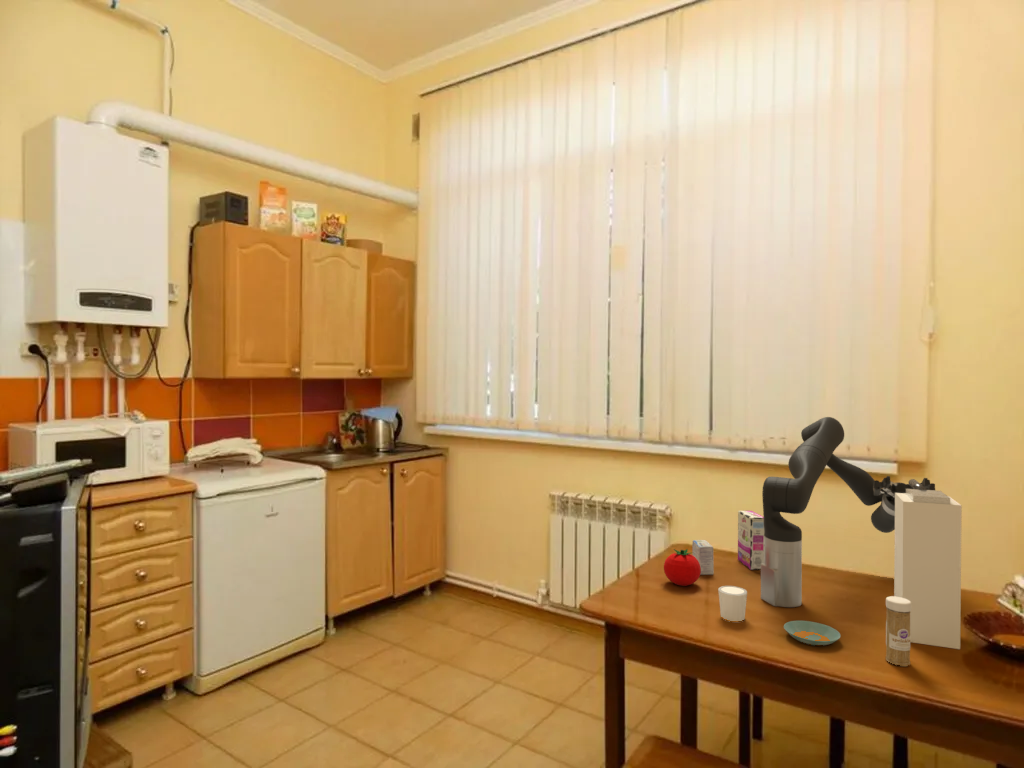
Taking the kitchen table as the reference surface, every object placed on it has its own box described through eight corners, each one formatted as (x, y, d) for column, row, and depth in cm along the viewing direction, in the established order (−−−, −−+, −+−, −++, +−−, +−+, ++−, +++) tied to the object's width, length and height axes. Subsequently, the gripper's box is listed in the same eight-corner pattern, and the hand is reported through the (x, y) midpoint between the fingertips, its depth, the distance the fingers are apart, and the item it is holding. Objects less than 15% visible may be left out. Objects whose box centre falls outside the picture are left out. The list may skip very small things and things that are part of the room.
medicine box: (713, 575, 188) (714, 546, 187) (699, 575, 188) (699, 546, 188) (706, 567, 195) (706, 539, 195) (692, 566, 196) (692, 539, 195)
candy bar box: (766, 570, 192) (766, 517, 191) (750, 570, 192) (750, 518, 191) (752, 559, 203) (752, 509, 202) (737, 559, 203) (737, 510, 202)
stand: (960, 649, 137) (961, 505, 136) (902, 640, 141) (903, 501, 141) (947, 630, 147) (949, 496, 146) (894, 622, 151) (894, 492, 151)
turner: (950, 504, 138) (950, 495, 137) (913, 501, 140) (913, 492, 140) (929, 487, 157) (929, 480, 157) (897, 485, 160) (897, 478, 160)
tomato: (657, 585, 179) (657, 550, 179) (673, 576, 187) (673, 543, 187) (691, 593, 172) (691, 557, 172) (706, 583, 180) (707, 549, 180)
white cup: (717, 621, 153) (717, 592, 153) (718, 610, 160) (718, 583, 159) (747, 624, 151) (747, 596, 151) (747, 614, 157) (747, 587, 157)
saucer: (791, 625, 151) (791, 615, 151) (845, 638, 143) (845, 628, 143) (777, 641, 142) (777, 631, 142) (834, 656, 134) (834, 645, 134)
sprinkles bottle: (897, 668, 128) (897, 604, 128) (880, 658, 133) (880, 596, 132) (916, 666, 129) (916, 602, 129) (898, 656, 134) (898, 594, 133)
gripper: (868, 485, 182) (875, 465, 169) (925, 489, 177) (937, 468, 164) (870, 510, 179) (877, 492, 166) (928, 514, 174) (940, 495, 160)
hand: (907, 480), depth 165 cm, fingers open, 8 cm apart
